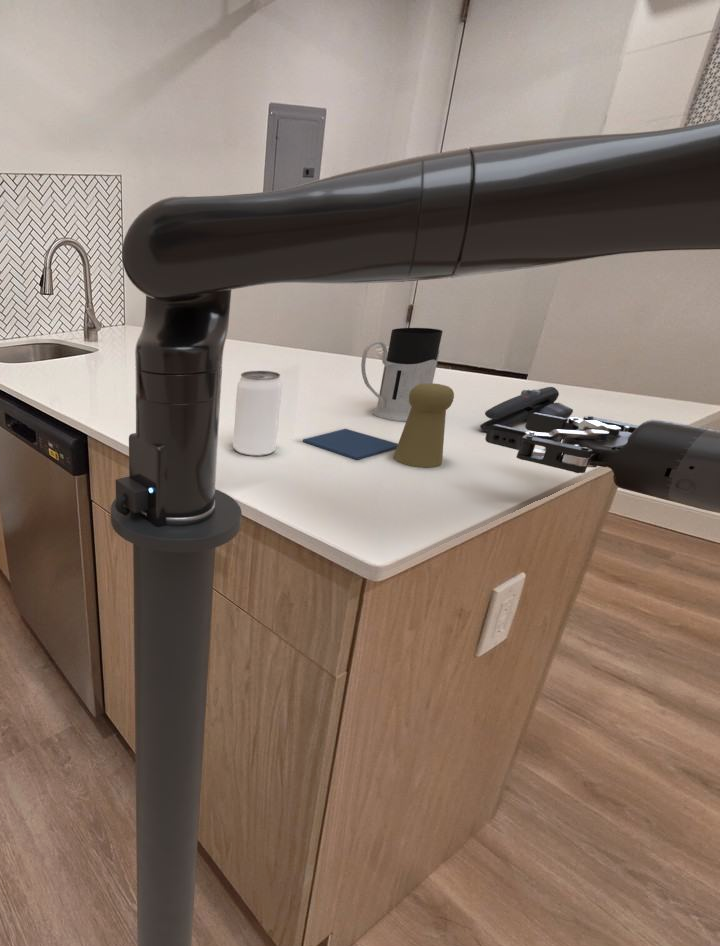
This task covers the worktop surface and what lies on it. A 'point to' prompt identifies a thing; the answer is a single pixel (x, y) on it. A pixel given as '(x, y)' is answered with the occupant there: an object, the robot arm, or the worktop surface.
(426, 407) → the cork
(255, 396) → the can
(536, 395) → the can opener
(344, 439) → the mat
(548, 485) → the worktop surface
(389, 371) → the glass holder
